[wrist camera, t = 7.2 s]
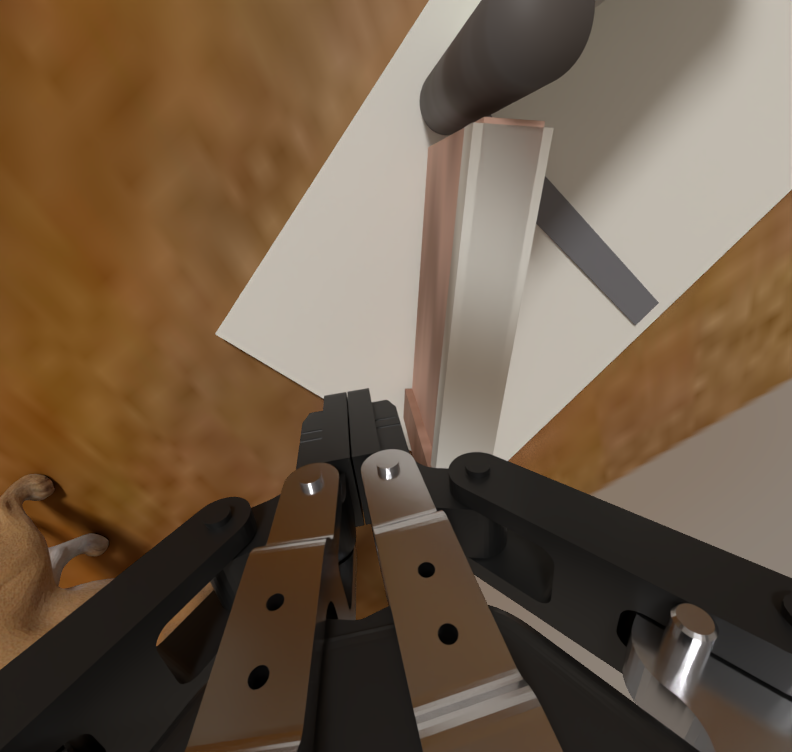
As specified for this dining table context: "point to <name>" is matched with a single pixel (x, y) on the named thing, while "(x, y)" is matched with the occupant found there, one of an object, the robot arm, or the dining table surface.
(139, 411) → the dining table surface
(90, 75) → the dining table surface
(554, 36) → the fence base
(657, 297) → the card
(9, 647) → the lion figurine
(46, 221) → the dining table surface
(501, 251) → the fence panel
